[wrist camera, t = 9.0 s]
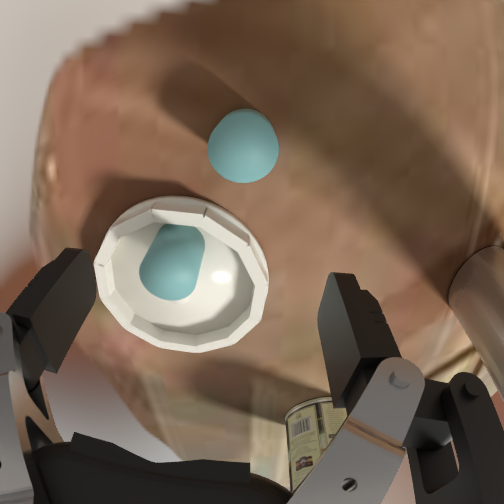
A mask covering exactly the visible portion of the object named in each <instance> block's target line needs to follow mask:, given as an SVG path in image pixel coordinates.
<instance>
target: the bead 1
mask: <svg viewBox="0 0 504 504" xmlns="http://www.w3.org/2000/svg"><path fill="white" fill-rule="evenodd" d="M204 251H205V241H204V238H203V235H202V234H201V232H200V231H199V230H198V229H197V228H196V227H194V226H185V225H176V224H165V225H163V226H162V227H161V228H160V229H159V231H158V233H157V234H156V236H155V238H154V240H153V242H152V244H151V246H150V247H149V249H148V251H147V253H146V255H145V257H144V259H143V261H142V263H141V264H140V267H139V276H140V280H141V282H142V284H143V286H144V287H145V288H146V289H147V290H148V291H149V292H150V293H151V294H153V295H154V296H156V297H158V298H161V299H164V300H171V301H175V300H181V299H184V298H186V297H188V296H189V295H190V294H191V293H192V292H193V291H194V289H195V287H196V283H197V279H198V275H199V271H200V267H201V263H202V258H203V254H204Z"/></svg>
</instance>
